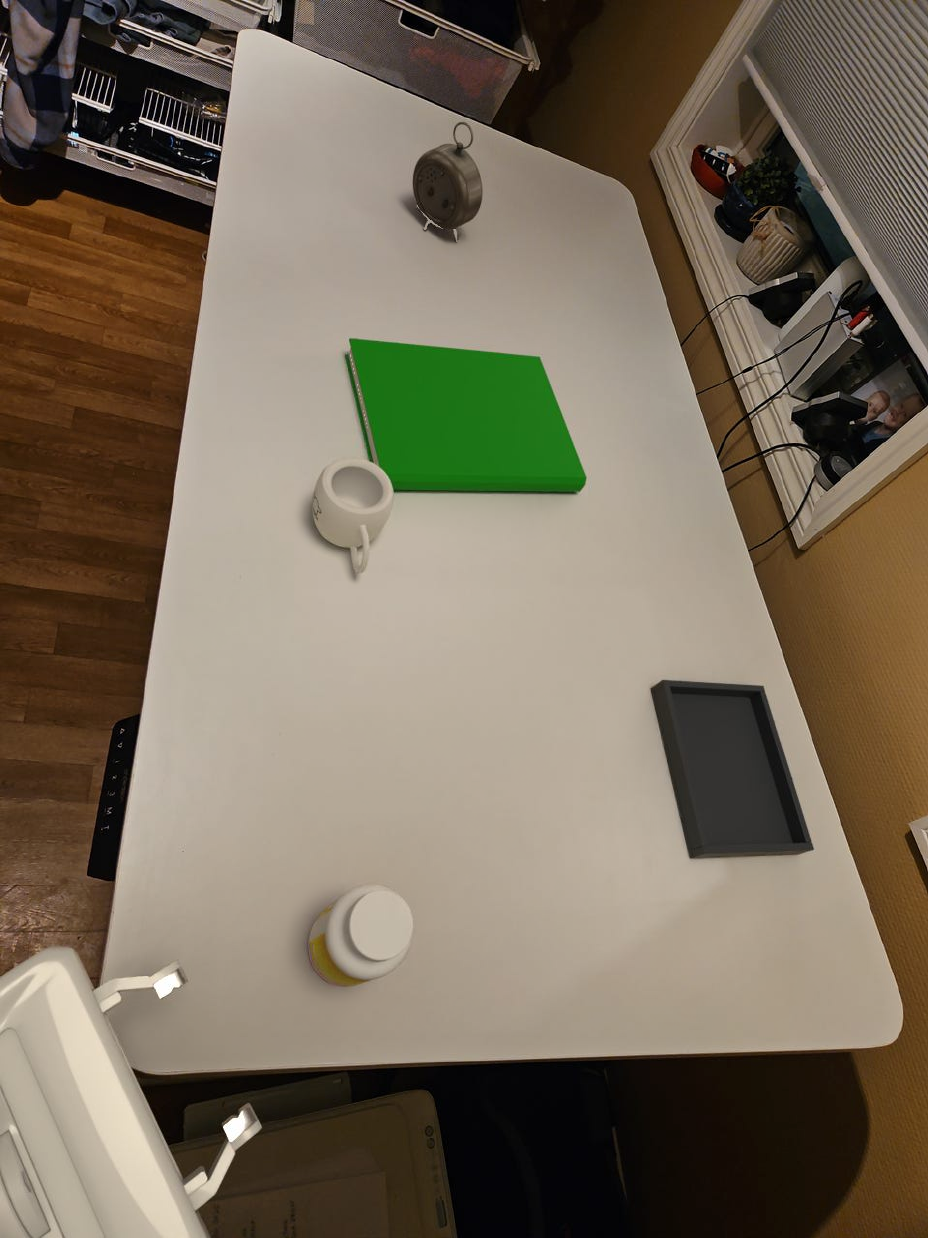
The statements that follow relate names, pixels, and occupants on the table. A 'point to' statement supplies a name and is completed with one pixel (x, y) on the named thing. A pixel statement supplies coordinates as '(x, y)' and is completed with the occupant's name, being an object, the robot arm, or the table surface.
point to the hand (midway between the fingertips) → (218, 1040)
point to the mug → (352, 505)
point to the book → (461, 419)
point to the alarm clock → (448, 184)
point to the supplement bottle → (361, 936)
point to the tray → (729, 771)
